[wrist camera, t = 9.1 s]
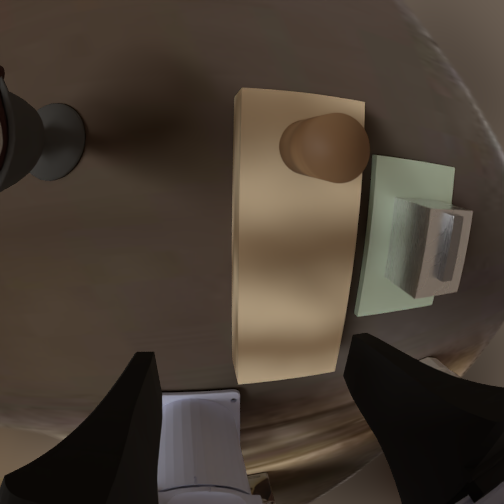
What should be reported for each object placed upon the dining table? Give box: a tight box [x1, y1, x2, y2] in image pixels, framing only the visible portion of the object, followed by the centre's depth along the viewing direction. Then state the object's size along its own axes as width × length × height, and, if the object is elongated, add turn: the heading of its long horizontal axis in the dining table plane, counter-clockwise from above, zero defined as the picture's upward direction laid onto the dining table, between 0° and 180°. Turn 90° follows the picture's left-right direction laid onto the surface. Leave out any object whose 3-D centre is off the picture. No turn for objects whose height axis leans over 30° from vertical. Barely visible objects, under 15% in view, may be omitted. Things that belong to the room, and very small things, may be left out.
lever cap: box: [384, 197, 473, 299], centre depth 20 cm, size 6×4×5 cm
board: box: [354, 155, 455, 317], centre depth 22 cm, size 12×8×1 cm, turn 179°
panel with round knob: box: [232, 88, 370, 384], centre depth 17 cm, size 18×7×7 cm, turn 179°
